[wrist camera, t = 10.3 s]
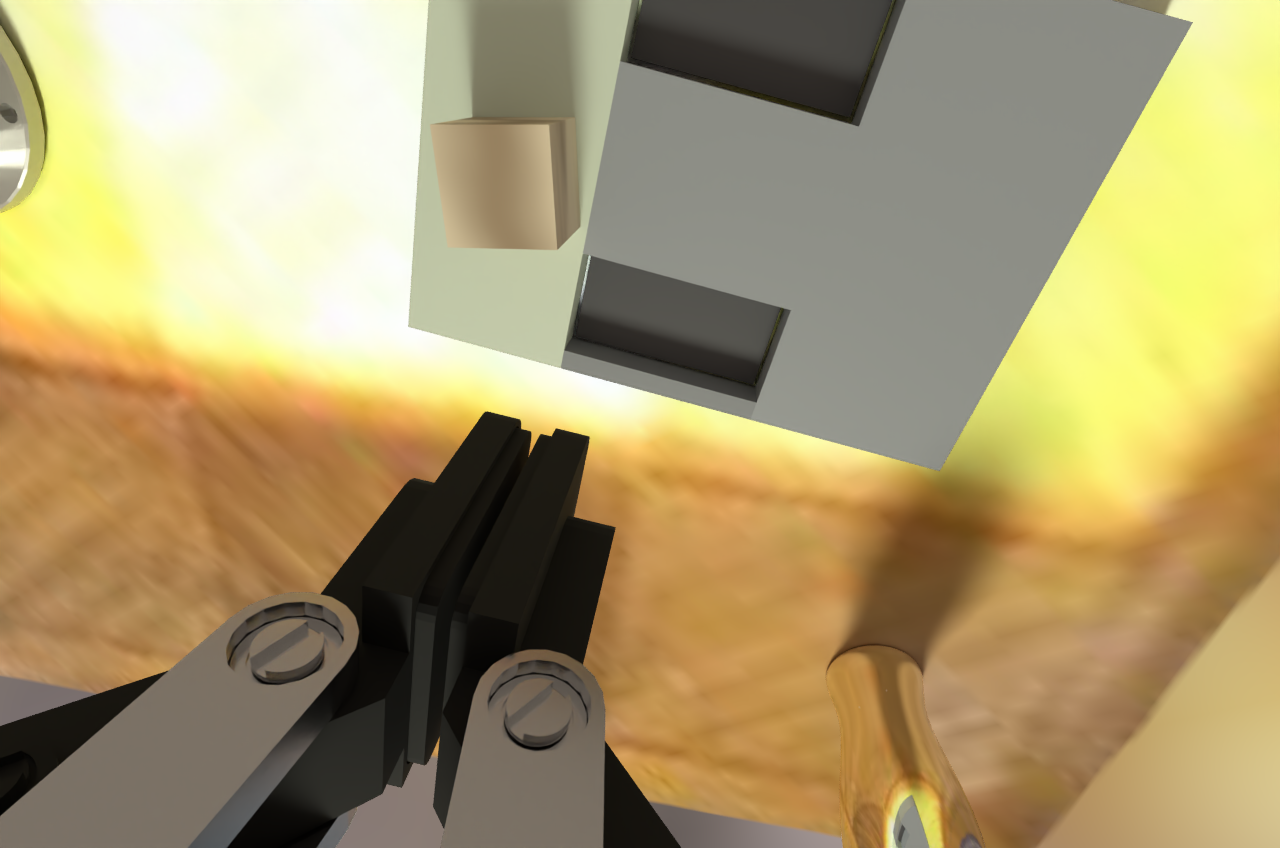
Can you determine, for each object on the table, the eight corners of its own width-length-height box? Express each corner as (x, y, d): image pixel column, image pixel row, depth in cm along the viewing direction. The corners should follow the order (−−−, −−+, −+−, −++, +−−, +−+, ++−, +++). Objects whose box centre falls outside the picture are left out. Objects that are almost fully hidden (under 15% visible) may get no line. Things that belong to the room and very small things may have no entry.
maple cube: (484, 224, 30) (447, 247, 26) (472, 117, 28) (429, 124, 24) (580, 226, 30) (557, 250, 26) (575, 117, 27) (548, 124, 24)
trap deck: (424, 313, 35) (408, 326, 33) (460, -167, 25) (440, -185, 23) (929, 451, 35) (939, 471, 33) (1160, 25, 25) (1192, 22, 23)
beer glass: (951, 679, 42) (1048, 950, 29) (867, 726, 46) (922, 990, 32) (878, 622, 41) (946, 880, 28) (796, 674, 44) (823, 929, 31)
